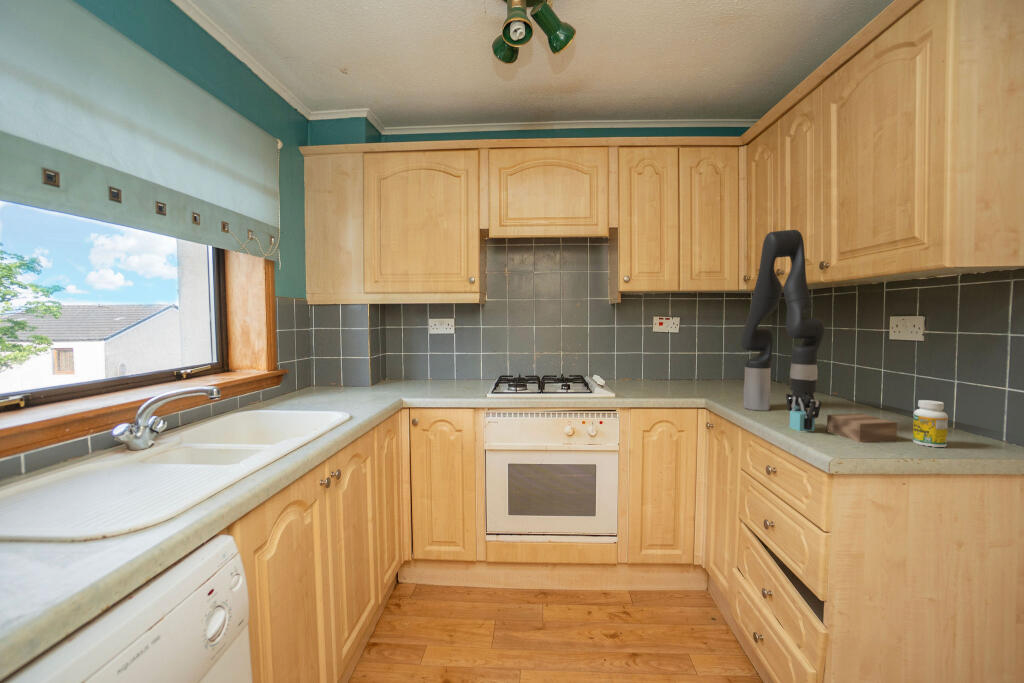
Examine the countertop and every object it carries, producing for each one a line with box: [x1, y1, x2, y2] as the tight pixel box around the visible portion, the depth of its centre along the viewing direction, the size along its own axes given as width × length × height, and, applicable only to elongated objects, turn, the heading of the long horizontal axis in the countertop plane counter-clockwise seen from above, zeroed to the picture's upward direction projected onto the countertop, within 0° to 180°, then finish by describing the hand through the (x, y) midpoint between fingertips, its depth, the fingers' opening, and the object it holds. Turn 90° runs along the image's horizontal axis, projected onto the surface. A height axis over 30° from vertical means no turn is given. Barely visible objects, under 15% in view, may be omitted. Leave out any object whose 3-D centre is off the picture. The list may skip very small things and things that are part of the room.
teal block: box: [789, 410, 816, 432], centre depth 141 cm, size 5×5×6 cm
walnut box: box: [826, 413, 898, 443], centre depth 133 cm, size 12×12×6 cm
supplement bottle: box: [912, 399, 949, 448], centre depth 124 cm, size 7×7×13 cm
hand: (801, 427), depth 141 cm, fingers closed on teal block, 5 cm apart
